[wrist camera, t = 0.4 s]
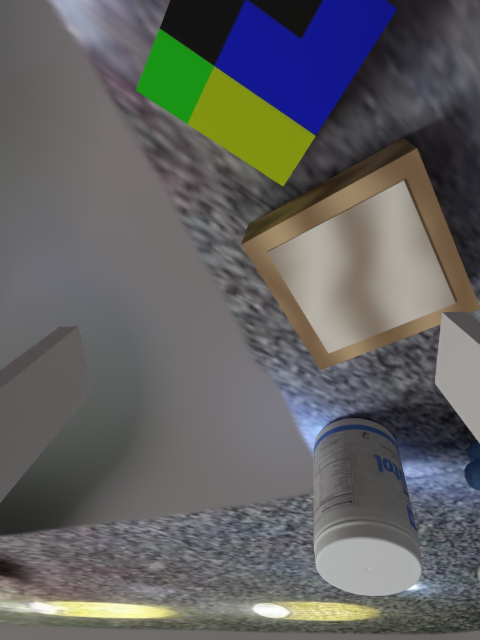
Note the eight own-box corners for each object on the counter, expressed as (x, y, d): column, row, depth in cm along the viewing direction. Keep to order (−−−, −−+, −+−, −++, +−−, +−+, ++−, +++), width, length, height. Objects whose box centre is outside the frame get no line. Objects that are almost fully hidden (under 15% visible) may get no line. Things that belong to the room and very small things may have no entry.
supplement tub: (413, 443, 48) (451, 575, 36) (354, 480, 53) (369, 609, 40) (352, 400, 46) (369, 524, 34) (295, 443, 51) (292, 565, 38)
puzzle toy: (370, 25, 29) (397, 8, 20) (288, 156, 34) (283, 186, 25) (246, -69, 27) (220, -130, 18) (180, 83, 32) (136, 90, 24)
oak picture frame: (402, 137, 32) (417, 148, 28) (461, 282, 37) (481, 310, 33) (248, 225, 37) (240, 245, 33) (319, 340, 42) (320, 371, 38)
